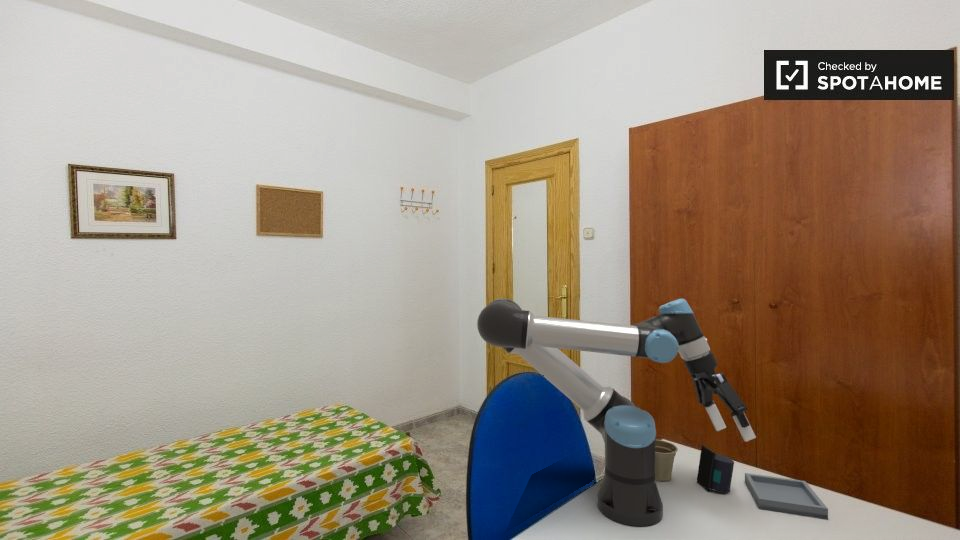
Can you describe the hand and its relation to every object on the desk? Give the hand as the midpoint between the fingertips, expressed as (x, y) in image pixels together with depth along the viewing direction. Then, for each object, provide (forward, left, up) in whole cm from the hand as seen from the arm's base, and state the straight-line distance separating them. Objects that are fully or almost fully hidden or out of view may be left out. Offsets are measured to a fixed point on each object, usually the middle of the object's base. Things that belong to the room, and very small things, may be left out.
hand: (735, 434), depth 113 cm
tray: (+11, +3, -16) cm, 20 cm away
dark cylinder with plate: (-4, +4, -16) cm, 17 cm away
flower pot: (-18, +6, -16) cm, 25 cm away
